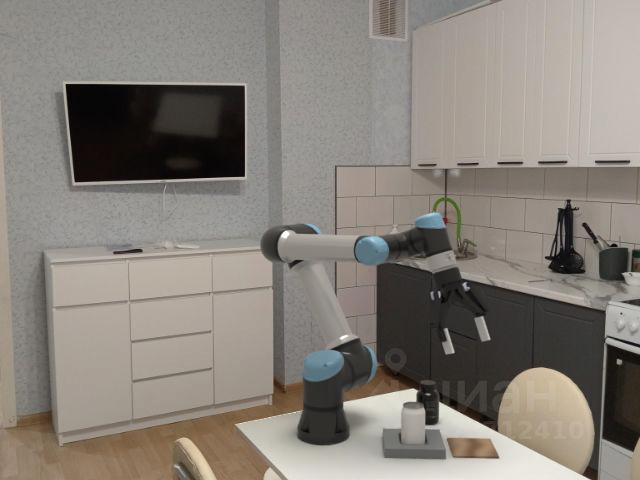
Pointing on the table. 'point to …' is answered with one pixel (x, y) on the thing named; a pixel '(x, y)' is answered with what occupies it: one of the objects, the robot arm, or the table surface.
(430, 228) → the robot arm
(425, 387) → the supplement bottle
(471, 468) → the table surface
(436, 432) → the plate
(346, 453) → the table surface
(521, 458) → the table surface
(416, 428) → the can
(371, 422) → the table surface
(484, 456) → the pad
